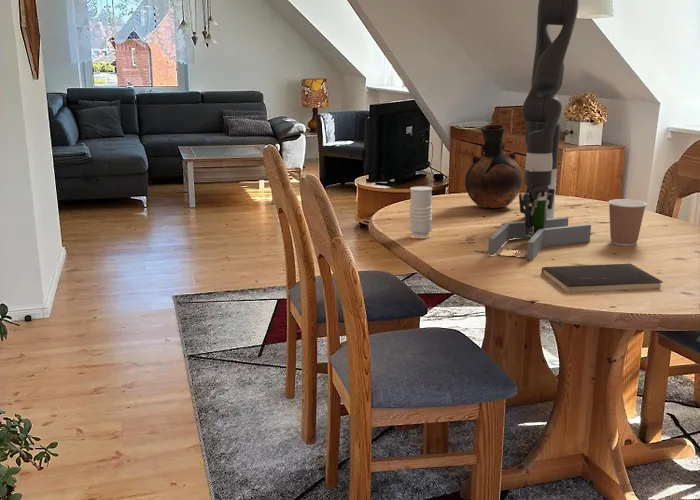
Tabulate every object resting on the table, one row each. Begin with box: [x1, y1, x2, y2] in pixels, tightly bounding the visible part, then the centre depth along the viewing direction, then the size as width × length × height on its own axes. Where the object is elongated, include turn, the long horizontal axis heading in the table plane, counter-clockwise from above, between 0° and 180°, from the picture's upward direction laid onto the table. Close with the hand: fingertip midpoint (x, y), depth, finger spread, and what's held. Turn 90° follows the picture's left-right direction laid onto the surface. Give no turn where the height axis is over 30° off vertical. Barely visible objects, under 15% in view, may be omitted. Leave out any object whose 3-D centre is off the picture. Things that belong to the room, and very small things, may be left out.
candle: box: [408, 186, 433, 237], centre depth 214 cm, size 7×7×15 cm
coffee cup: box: [608, 198, 647, 247], centre depth 205 cm, size 10×10×12 cm
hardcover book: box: [541, 263, 663, 293], centre depth 171 cm, size 16×23×2 cm
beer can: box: [526, 196, 546, 237], centre depth 206 cm, size 5×5×12 cm
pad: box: [512, 249, 527, 258], centre depth 196 cm, size 7×7×1 cm
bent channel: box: [487, 216, 592, 261], centre depth 202 cm, size 23×36×5 cm, turn 111°
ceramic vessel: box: [464, 123, 524, 209], centre depth 255 cm, size 21×18×30 cm
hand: (535, 225), depth 207 cm, fingers closed on beer can, 5 cm apart
